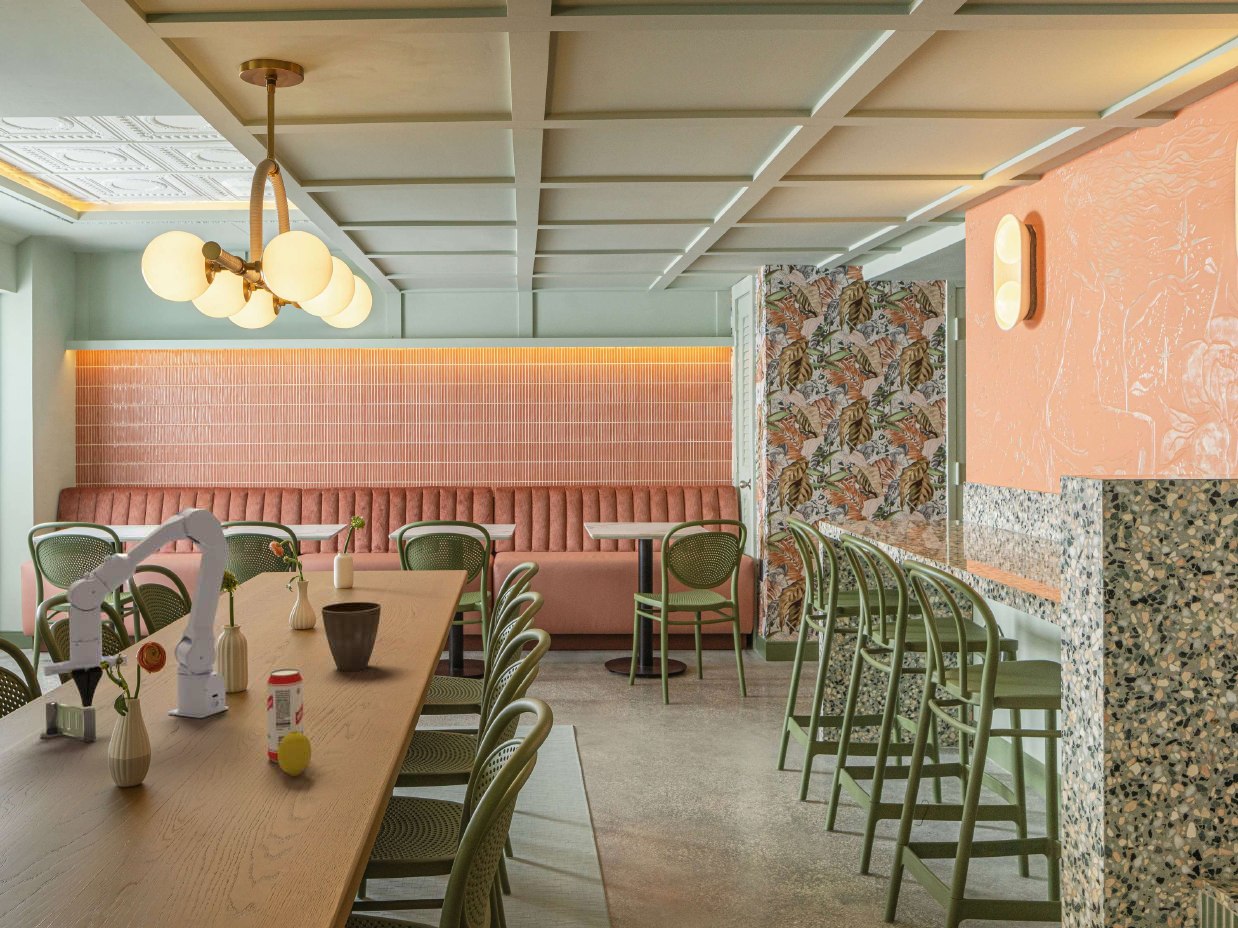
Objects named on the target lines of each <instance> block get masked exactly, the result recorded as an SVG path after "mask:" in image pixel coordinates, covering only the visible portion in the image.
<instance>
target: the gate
mask: <svg viewBox="0 0 1238 928" xmlns="http://www.w3.org/2000/svg"><path fill="white" fill-rule="evenodd" d="M96 718H97V716H96V708H95V707H88V708H87V707H86V708H81V707H78V706H74V705H70V704H66V703H61V702H58V731H61V732H64V734H68V735H72V736H74V737H75V736H76V737H79V738H82V739H83V741H84V742H93V741H96V740H97V737H96V735H97V734H96V733H97V732H96V731H97V730H96V728H97V727H96V726H97V725H96Z"/></svg>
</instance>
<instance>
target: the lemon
mask: <svg viewBox="0 0 1238 928" xmlns="http://www.w3.org/2000/svg"><path fill="white" fill-rule="evenodd" d="M311 759H312V747H311V743H310V739H309V738H308V737H307V735H306V734H302V733H300V732H297V731H296V730H293V731H292V732H291V733H289V734H287V735H286V736H285V737H284V738H283V739H282V740H281V742H280V745H279V748H278V762H279V763H278V765H279V766H280V768H281V770H283V772H286V773H288V774H290V775H291V776H292V777H297V776H298V775H299V774H300V773H301V772H302V771H304V770H306V768H307V767H308V766H309V764H310V762H311Z"/></svg>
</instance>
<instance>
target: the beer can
mask: <svg viewBox="0 0 1238 928" xmlns="http://www.w3.org/2000/svg"><path fill="white" fill-rule="evenodd" d="M269 674H270V676H269V677H268V680H267V683H266V692H267V694H266V695H267V696H266V697H267V698H266V699H267V700H266V707H267V715H266V716H267V719H266V720H267V721H266V722H267V725H266V726H267V757H268V759H269V760H271V761H272V762H273V763H277V764H279V762H278V748H279V745H280V742H281V740H282V739H283V738H284V737H285V736H286V735H287V734H289V733H291V732H292V731H293V730H296V731H297V732H300V733H302V734H304V685H303V684H304V681H303V678H302V676H301V674H300V670H299V669H297V668H281V669H276V670H272V671H271V672H269ZM304 735H305V734H304Z"/></svg>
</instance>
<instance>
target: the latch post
mask: <svg viewBox="0 0 1238 928" xmlns="http://www.w3.org/2000/svg"><path fill="white" fill-rule="evenodd" d="M58 703H59V702H57V701H51V702H46V703H45V726H46V727H45V729H46V730H45V731H43V732H42V733H40V735H39V737H40V739H43V740H49V739H56V738H60V737H63V736H64V735H65V733H64V732H61V731H58Z"/></svg>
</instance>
